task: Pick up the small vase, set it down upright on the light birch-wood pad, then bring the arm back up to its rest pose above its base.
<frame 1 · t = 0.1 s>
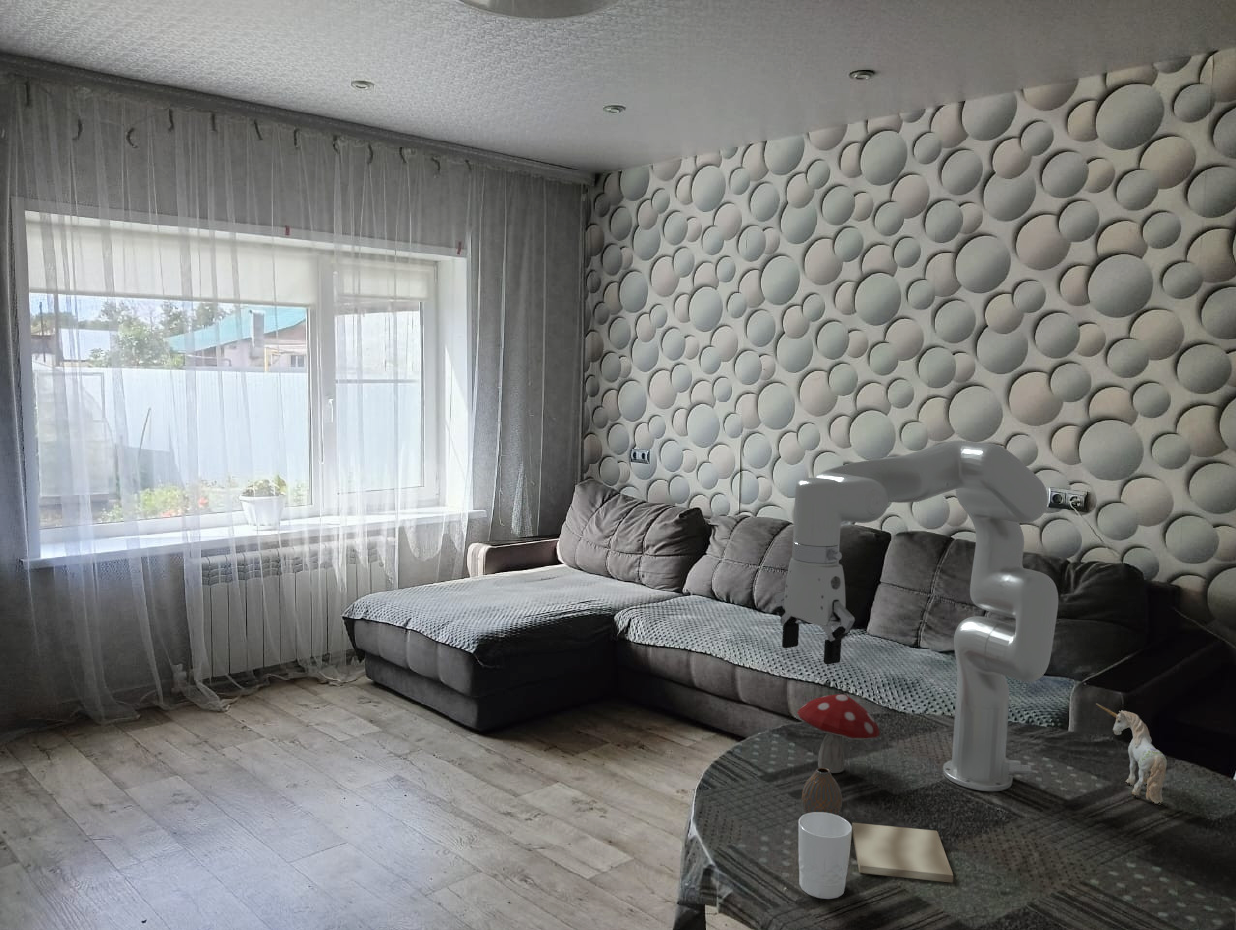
hand: (810, 654, 154), 31 cm above the table, tool pointing down, fingers open, 9 cm apart
white cup: (821, 888, 141), on the table
decorative mushroom: (835, 770, 183), on the table
unicorn figurine: (1123, 789, 177), on the table
vase: (820, 819, 163), on the table
birch pad: (899, 854, 151), on the table
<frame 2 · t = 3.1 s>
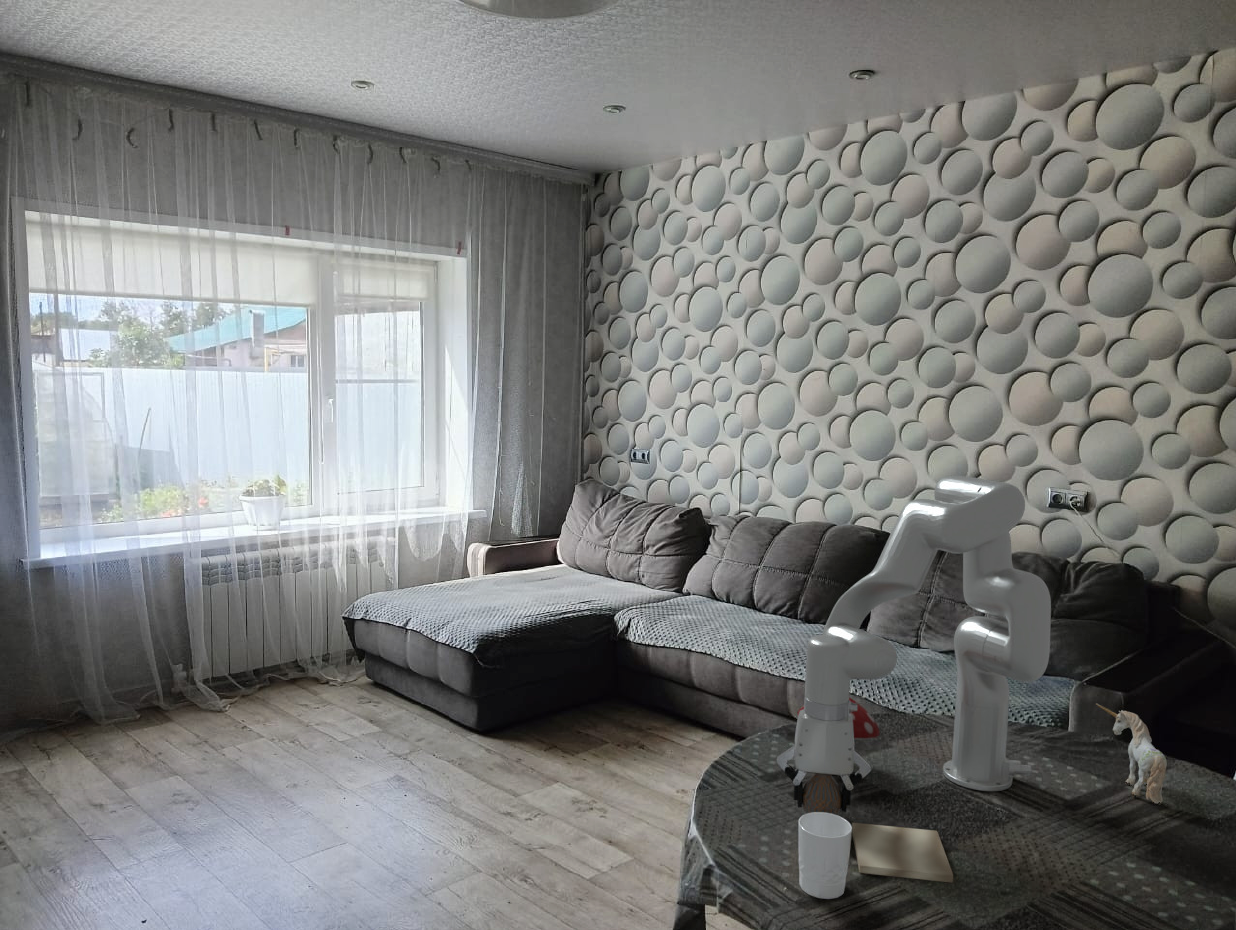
hand: (821, 805, 162), 2 cm above the table, tool pointing down, fingers closed on vase, 7 cm apart
vase: (820, 819, 163), on the table, touching gripper
everything else where it was.
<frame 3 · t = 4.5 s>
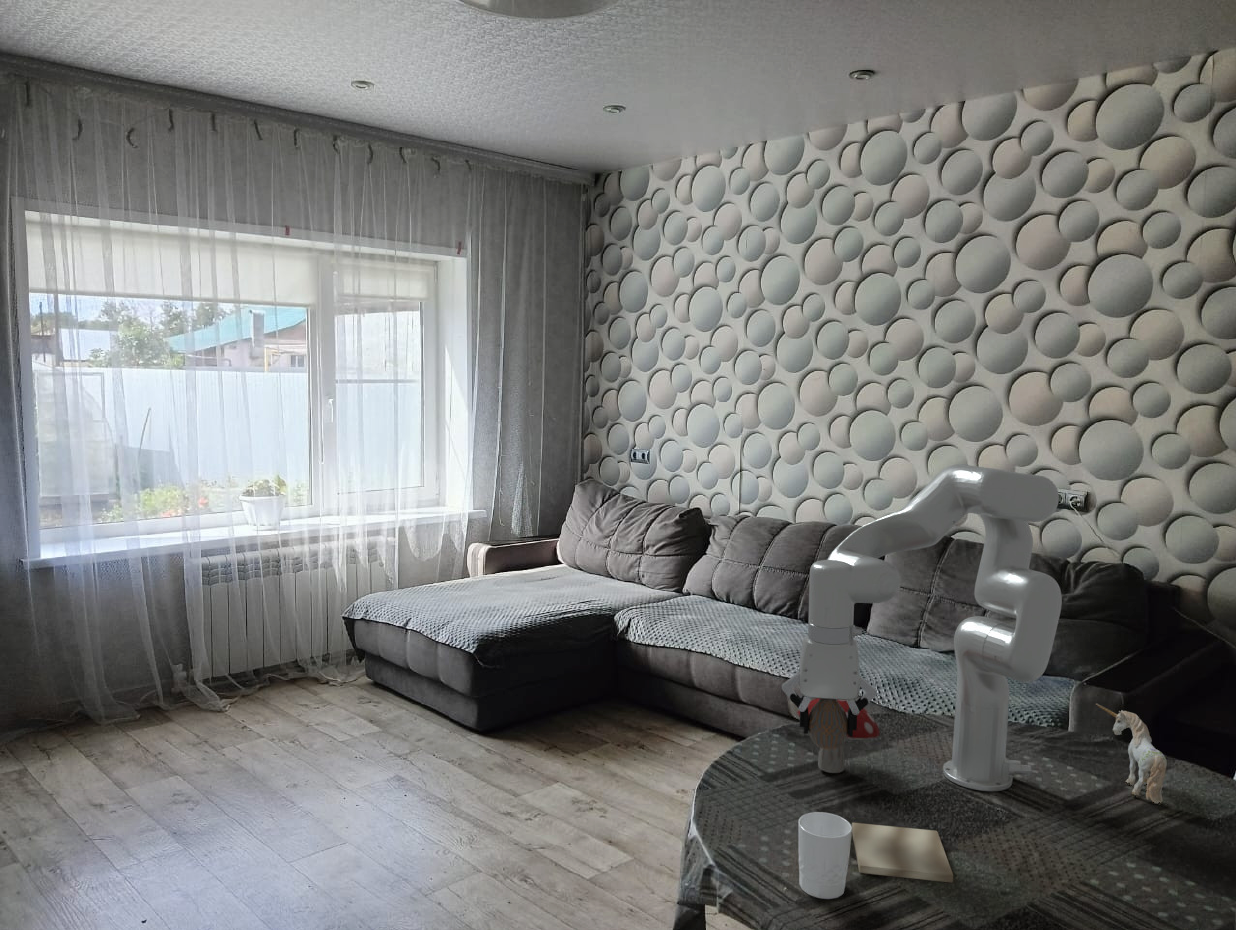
hand: (827, 731, 161), 16 cm above the table, tool pointing down, fingers closed on vase, 7 cm apart
vase: (827, 745, 161), point 13 cm above the table, touching gripper
everything else where it was.
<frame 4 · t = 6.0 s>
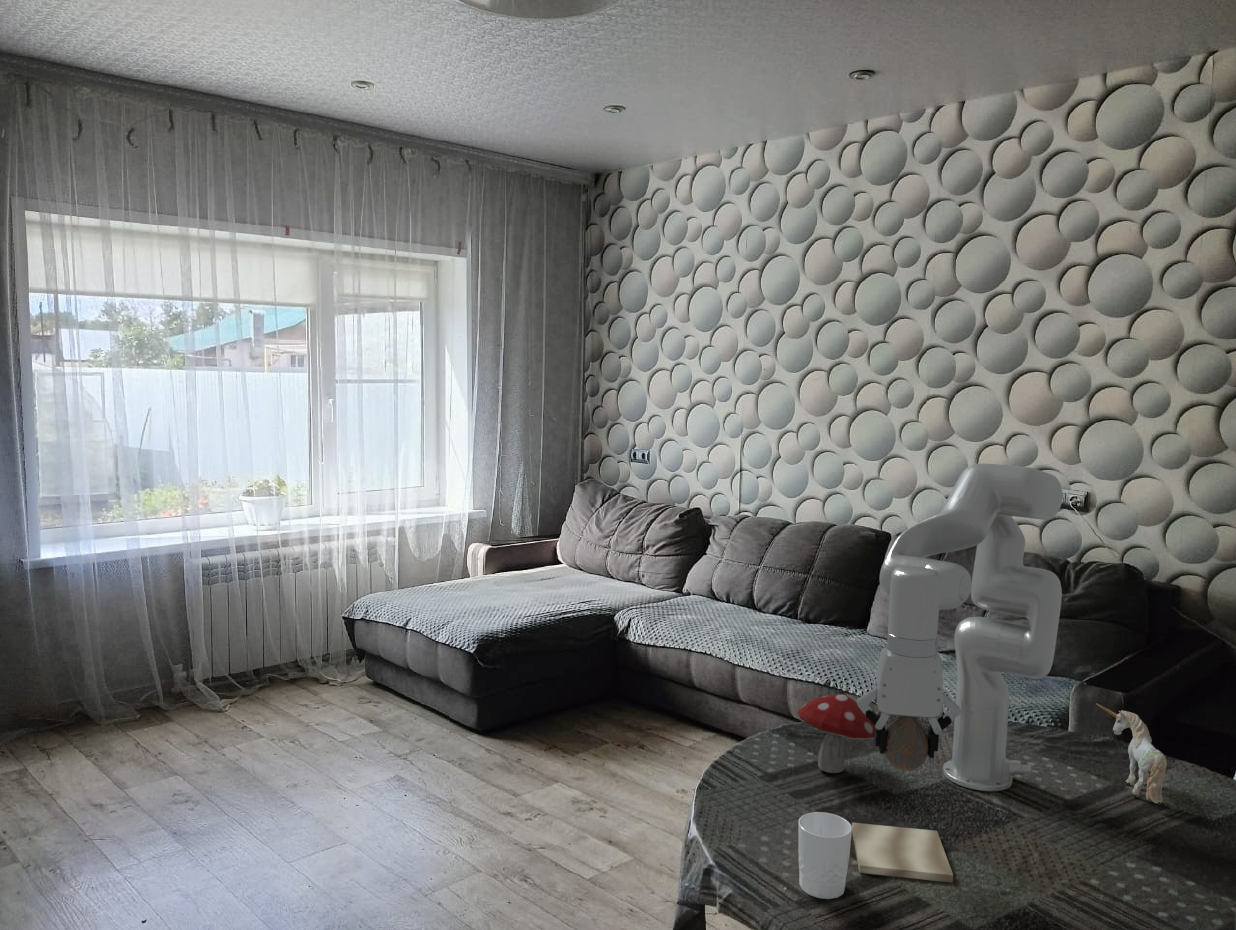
hand: (905, 751, 149), 17 cm above the table, tool pointing down, fingers closed on vase, 7 cm apart
vase: (904, 767, 149), point 15 cm above the table, touching gripper
everything else where it was.
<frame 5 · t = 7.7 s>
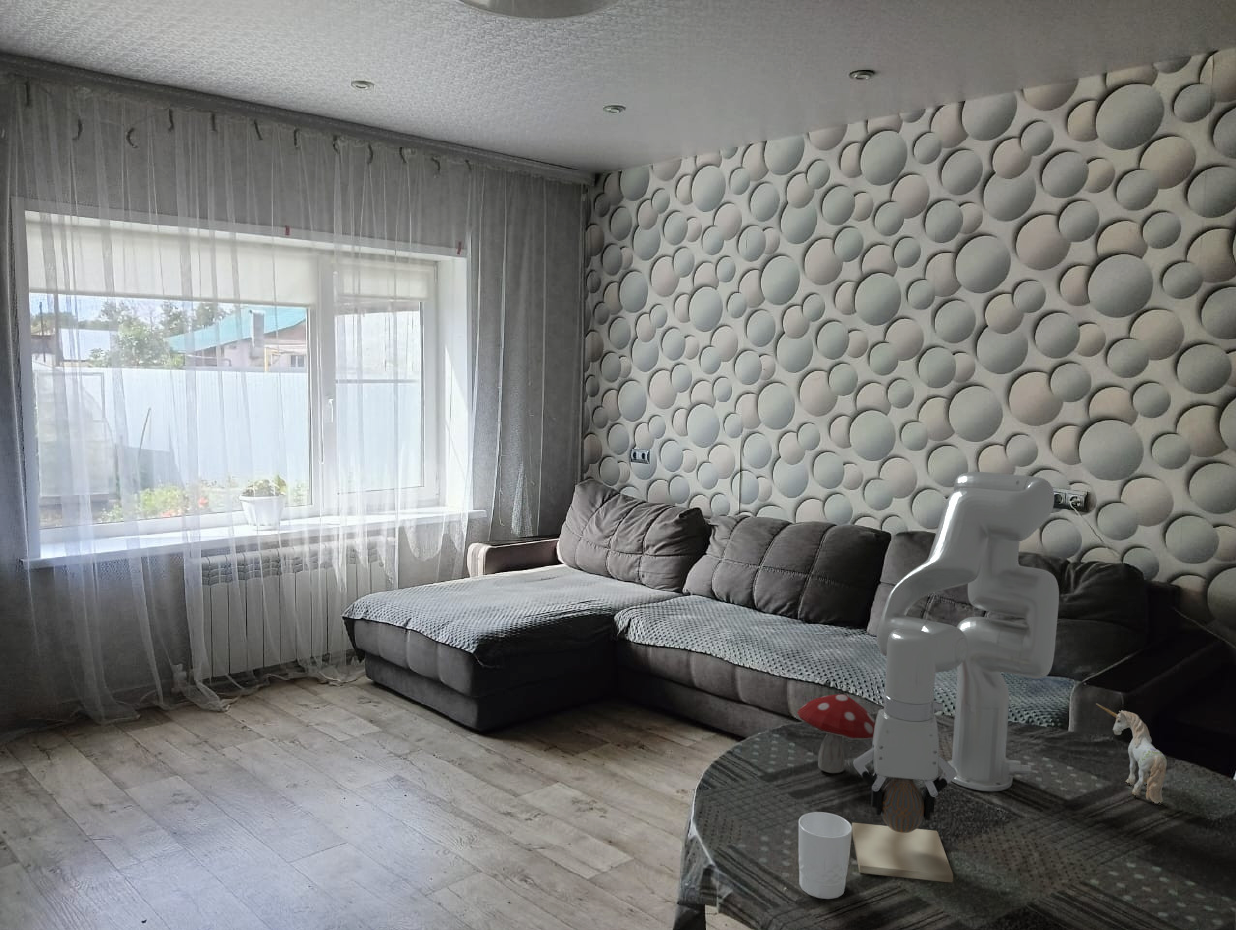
hand: (901, 813, 150), 7 cm above the table, tool pointing down, fingers closed on vase, 7 cm apart
vase: (900, 828, 150), point 5 cm above the table, touching gripper
everything else where it was.
when the fingers open (5 cm above the table, at t = 9.2 s): vase drops 1 cm, resting on birch pad.
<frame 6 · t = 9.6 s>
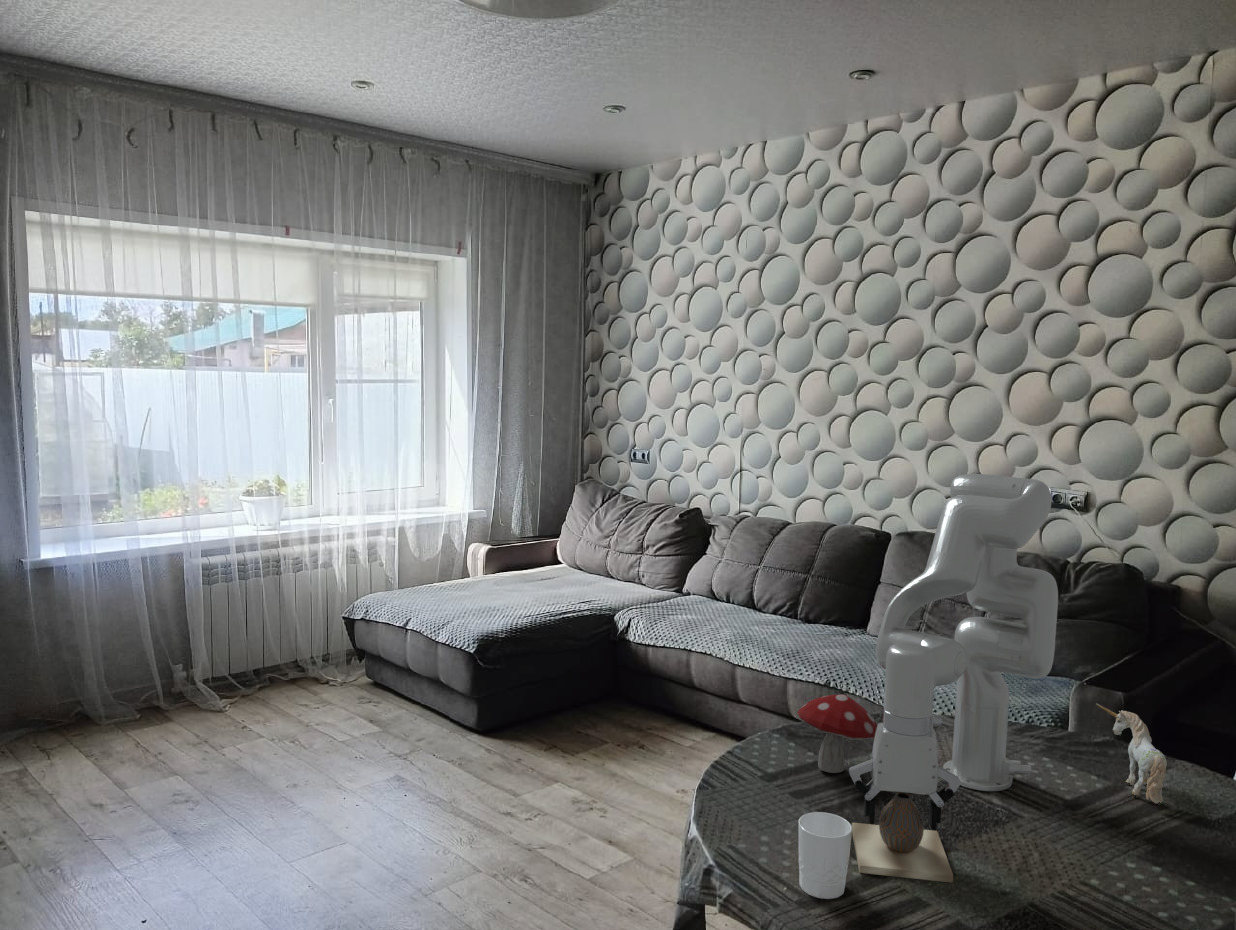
hand: (901, 823, 150), 5 cm above the table, tool pointing down, fingers open, 9 cm apart
vase: (899, 848, 151), point 1 cm above the table, touching birch pad
everything else where it was.
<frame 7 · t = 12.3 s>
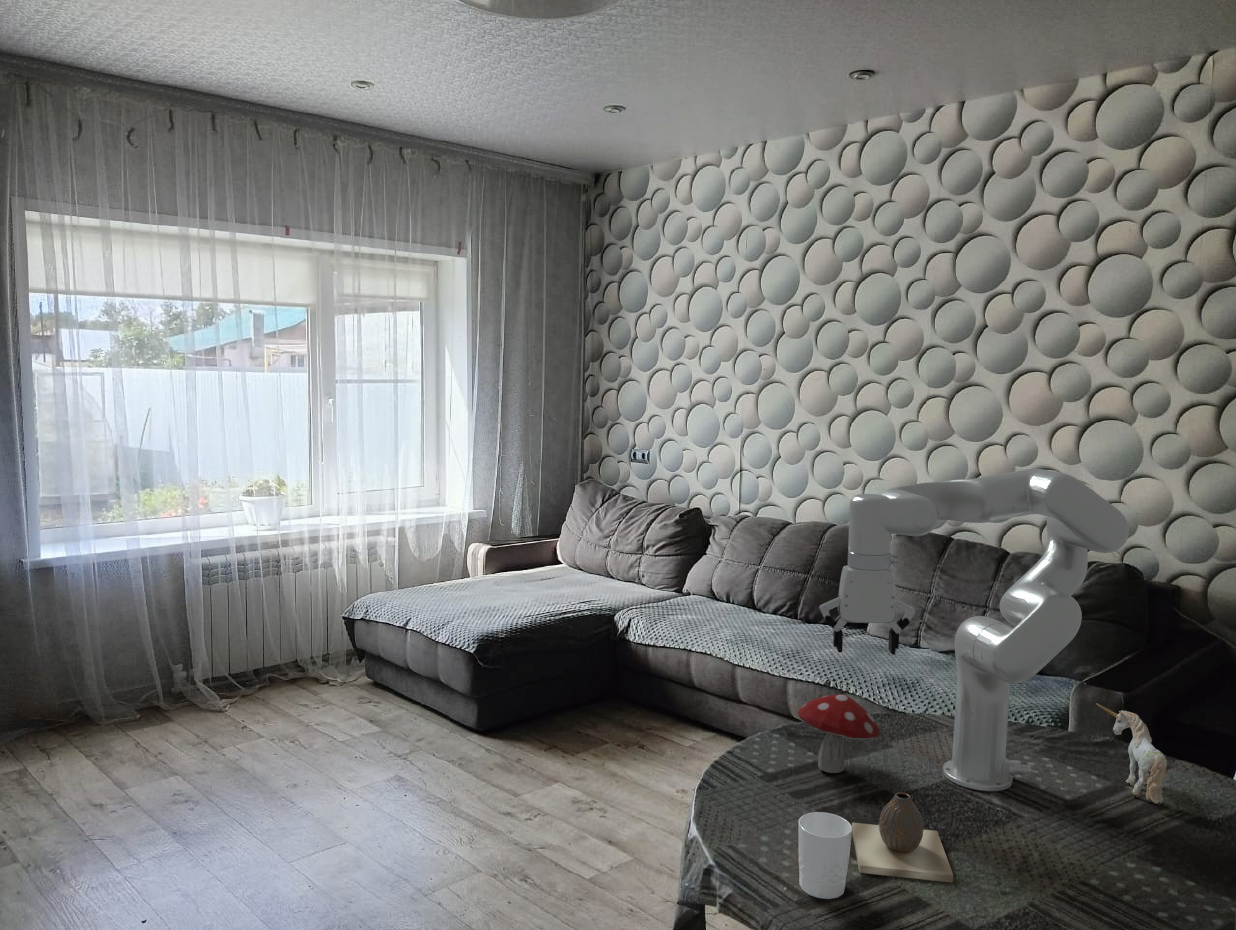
hand: (865, 651, 173), 26 cm above the table, tool pointing down, fingers open, 9 cm apart
nothing on the table moved.
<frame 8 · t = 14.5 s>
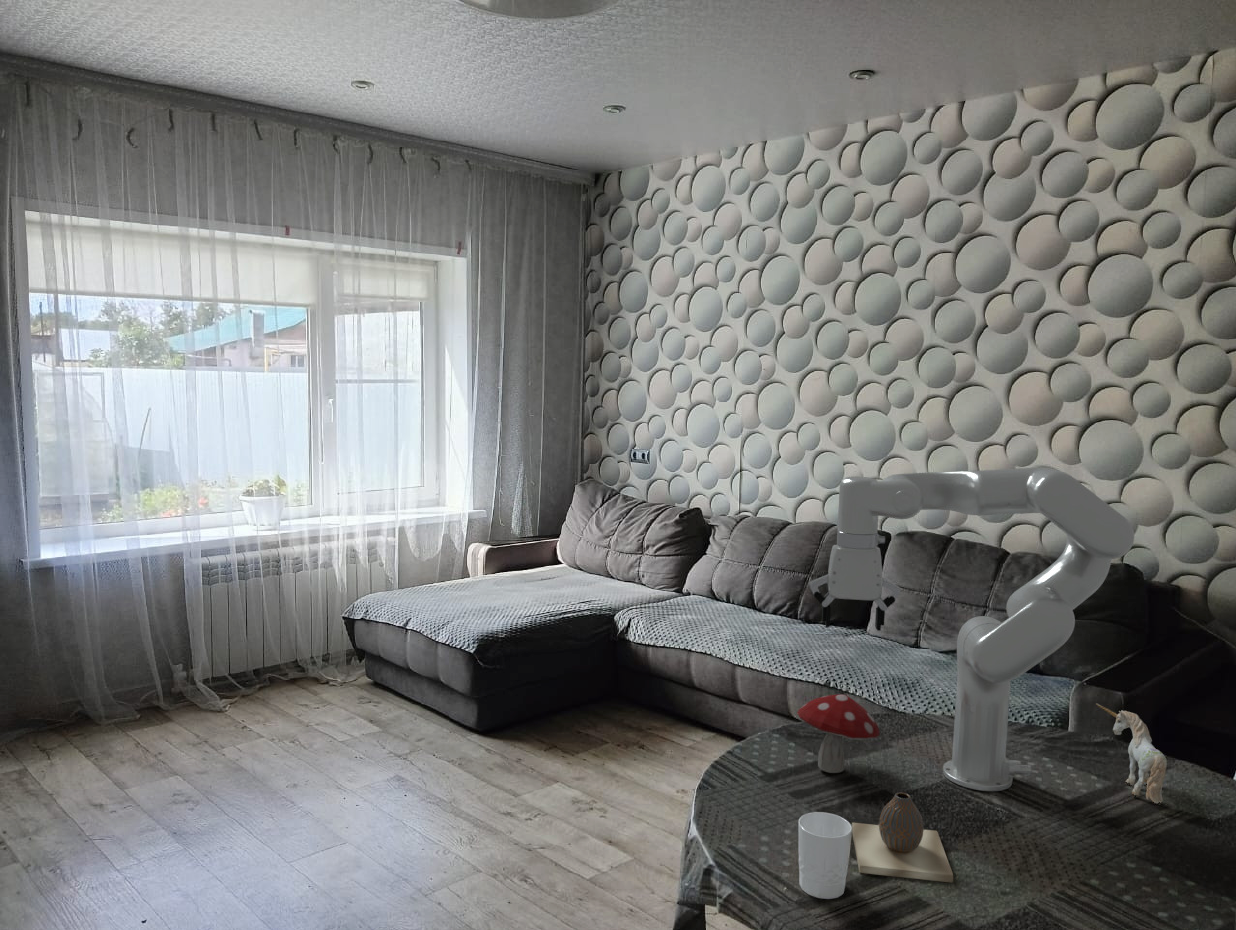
hand: (852, 627, 181), 28 cm above the table, tool pointing down, fingers open, 9 cm apart
nothing on the table moved.
at the end: vase inside the target area on the birch pad (0.1 cm from its centre), point 1.0 cm above the birch pad's base; vase tilted 0°; the gripper is holding nothing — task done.
